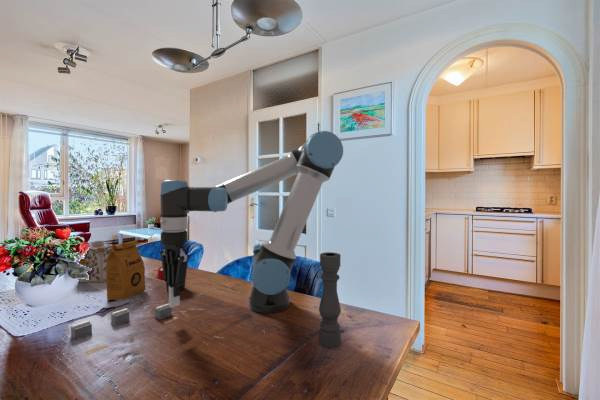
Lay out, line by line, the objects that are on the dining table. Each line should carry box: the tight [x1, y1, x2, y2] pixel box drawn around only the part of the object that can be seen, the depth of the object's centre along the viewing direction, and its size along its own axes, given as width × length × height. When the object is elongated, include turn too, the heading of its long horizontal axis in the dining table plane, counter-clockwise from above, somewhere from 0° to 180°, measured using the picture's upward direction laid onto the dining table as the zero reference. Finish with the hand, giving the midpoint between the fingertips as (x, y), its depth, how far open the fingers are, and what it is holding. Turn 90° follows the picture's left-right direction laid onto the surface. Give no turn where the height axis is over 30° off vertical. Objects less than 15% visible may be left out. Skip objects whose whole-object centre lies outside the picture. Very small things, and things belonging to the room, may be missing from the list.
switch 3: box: [154, 302, 173, 321], centre depth 92 cm, size 3×4×4 cm
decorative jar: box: [77, 240, 114, 283], centre depth 134 cm, size 12×12×18 cm
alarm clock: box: [153, 266, 164, 280], centre depth 138 cm, size 10×6×15 cm
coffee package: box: [105, 239, 147, 301], centre depth 112 cm, size 10×12×22 cm
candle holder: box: [318, 251, 342, 349], centre depth 79 cm, size 6×6×25 cm
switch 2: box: [110, 307, 130, 327], centre depth 88 cm, size 3×4×4 cm
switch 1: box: [70, 320, 93, 341], centre depth 80 cm, size 3×4×4 cm
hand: (174, 305), depth 87 cm, fingers closed
